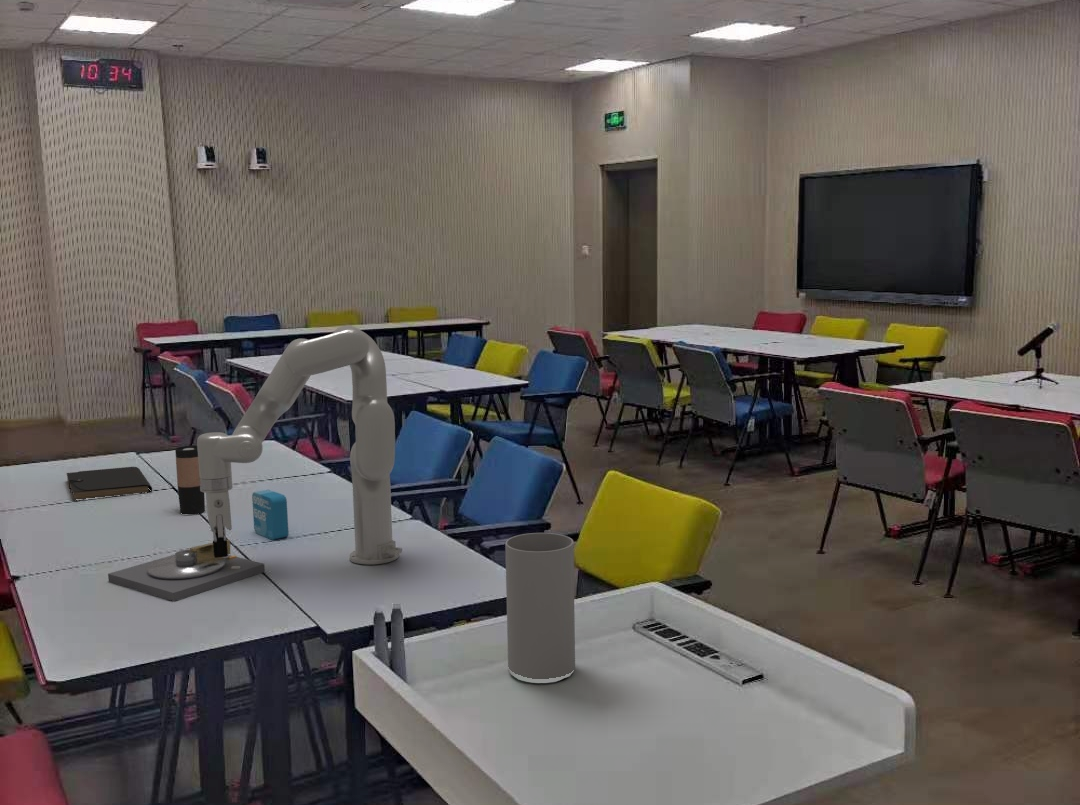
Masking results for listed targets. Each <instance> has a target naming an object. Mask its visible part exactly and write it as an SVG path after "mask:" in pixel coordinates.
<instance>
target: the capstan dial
mask: <svg viewBox="0 0 1080 805" xmlns="http://www.w3.org/2000/svg"><path fill="white" fill-rule="evenodd" d="M230 541H231V540H230V539H227V550H228V555H231V542H230ZM174 555H175V556H171V555H170V556H171V557H168V556H166V557H167V558H164V557H162V558H163V559H161V558H159V559H160V560H157V559H156V560H157V561H155V562H153V563H151V564H150V565H149V566H148V574H149V575H150V576H152V577H154V578H158V579H170V580H176V579H189V578H196V577H201V576H205V575H209V574H212V573H215V572H217V571H219V570H221V569H222V568H224V566H225V558H224V557H219V558H215V557H214V550H213V542H210V543H206V544H201V545H198V546H192V547H189V549H184V550H180V551H179V550H178V551H177V552H175V553H174Z"/></svg>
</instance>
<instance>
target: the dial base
mask: <svg viewBox="0 0 1080 805" xmlns="http://www.w3.org/2000/svg"><path fill="white" fill-rule="evenodd" d="M171 556H175V554H172V555H169V556H165V557H161V558H158V559H155V560H151V561H148V562H143V563H141V564H137V565H134V566H131V567H126V568H123V569H120V570H116V571H113V572H109V573H107V576H108V578H107V579H108V583H112V584H115V585H119V586H122V587H125V588H129V589H132V590H134V591H139V592H142V593H145V594H149V595H151V596H155V597H158V598H161V597H162V599H165V600H169V601H171V600H172V602H176V601H179V600H182V599H185V598H188V597H192V596H195V595H197V594H201V593H203V592H206V591H209V590H213V589H217V588H219V587H222V586H225V585H228V584H231V583H234V582H237V581H241V580H243V579H247V578H249V577H252V576H255V575H258V574H262V573H265V572H266V571H265V570H266V569H265V568H266V566H265V563H263V562H259V561H255V560H250V559H247V558H243V557H238V556H237V555H231V554H228V556H227V557H224V558H225V566H224V568H222V569H221V570H219V571H217V572H215V573H212V574H209V575H205V576H201V577H196V578H189V579H176V580H170V579H158V578H154V577H152V576H150V575H149V574H148V566H149V565H150V564H151V563H153V562H155V561H157V560H160V559H163V558H167V557H171Z"/></svg>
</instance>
